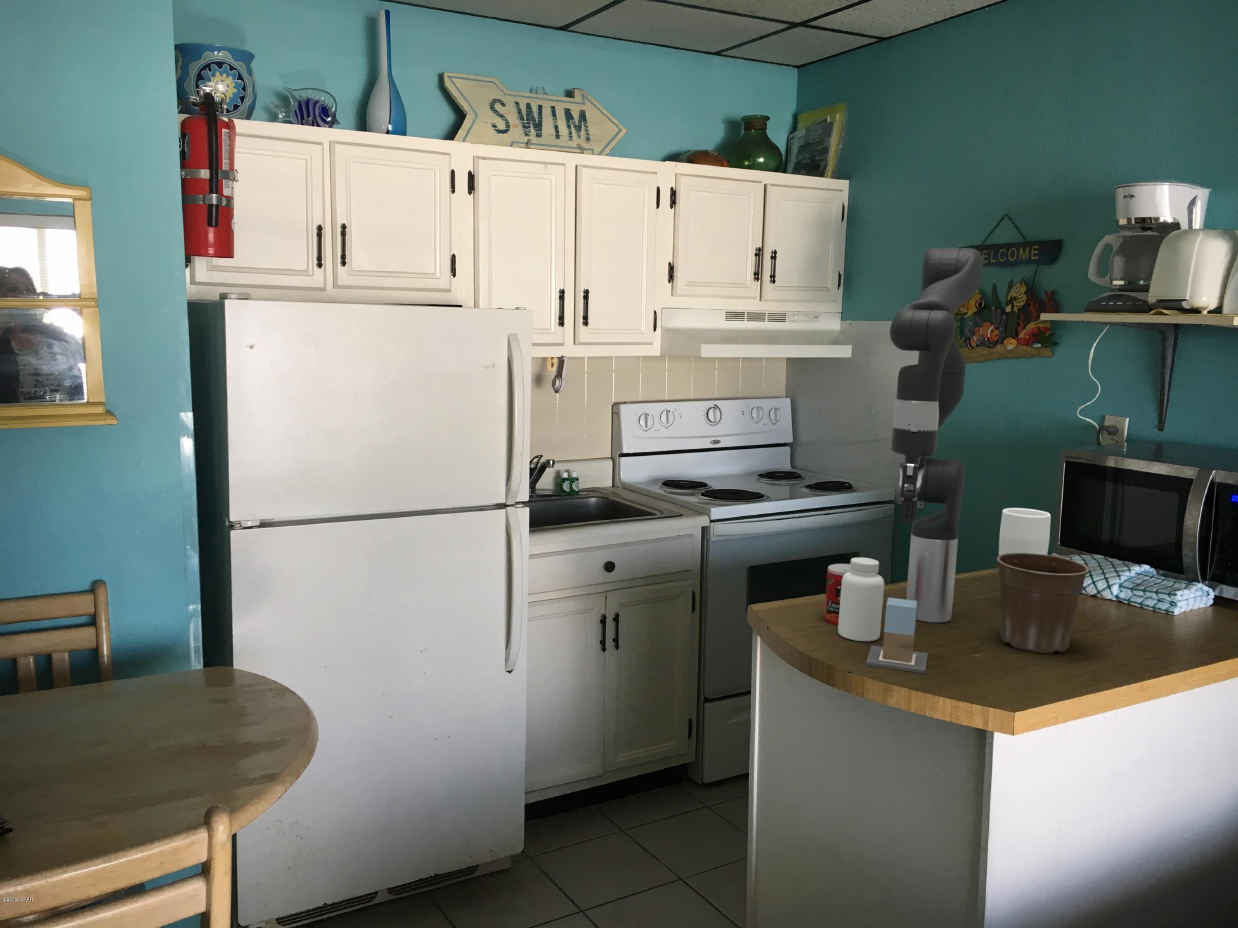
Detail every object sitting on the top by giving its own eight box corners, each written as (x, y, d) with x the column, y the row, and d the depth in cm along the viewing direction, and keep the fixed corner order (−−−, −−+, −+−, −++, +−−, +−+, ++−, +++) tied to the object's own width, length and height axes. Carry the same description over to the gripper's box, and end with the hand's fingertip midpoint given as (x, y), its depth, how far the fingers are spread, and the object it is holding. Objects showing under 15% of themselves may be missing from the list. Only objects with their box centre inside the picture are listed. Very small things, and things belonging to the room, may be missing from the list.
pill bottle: (881, 644, 184) (887, 566, 182) (838, 640, 186) (843, 563, 184) (878, 631, 192) (884, 557, 190) (837, 627, 194) (842, 554, 191)
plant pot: (1087, 662, 178) (1096, 576, 175) (992, 651, 182) (1000, 567, 180) (1073, 637, 193) (1081, 557, 191) (986, 627, 198) (993, 549, 195)
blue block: (886, 624, 178) (888, 597, 177) (914, 627, 176) (917, 600, 175) (884, 631, 173) (886, 604, 172) (913, 635, 171) (915, 607, 171)
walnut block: (884, 650, 178) (886, 624, 178) (912, 654, 177) (915, 627, 176) (882, 658, 174) (884, 631, 173) (911, 662, 172) (913, 635, 171)
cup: (1047, 608, 213) (1056, 511, 210) (1038, 619, 205) (1048, 518, 202) (997, 600, 219) (1005, 505, 216) (987, 610, 210) (995, 512, 207)
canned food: (821, 623, 196) (824, 569, 195) (828, 613, 204) (831, 561, 202) (859, 628, 194) (863, 574, 192) (865, 618, 201) (869, 566, 199)
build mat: (871, 648, 181) (871, 644, 181) (927, 656, 178) (927, 652, 178) (865, 665, 172) (866, 661, 172) (925, 673, 169) (925, 669, 169)
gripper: (895, 421, 177) (889, 509, 179) (889, 428, 164) (882, 522, 166) (939, 424, 175) (932, 513, 177) (936, 431, 161) (928, 527, 164)
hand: (908, 517), depth 171 cm, fingers open, 8 cm apart
